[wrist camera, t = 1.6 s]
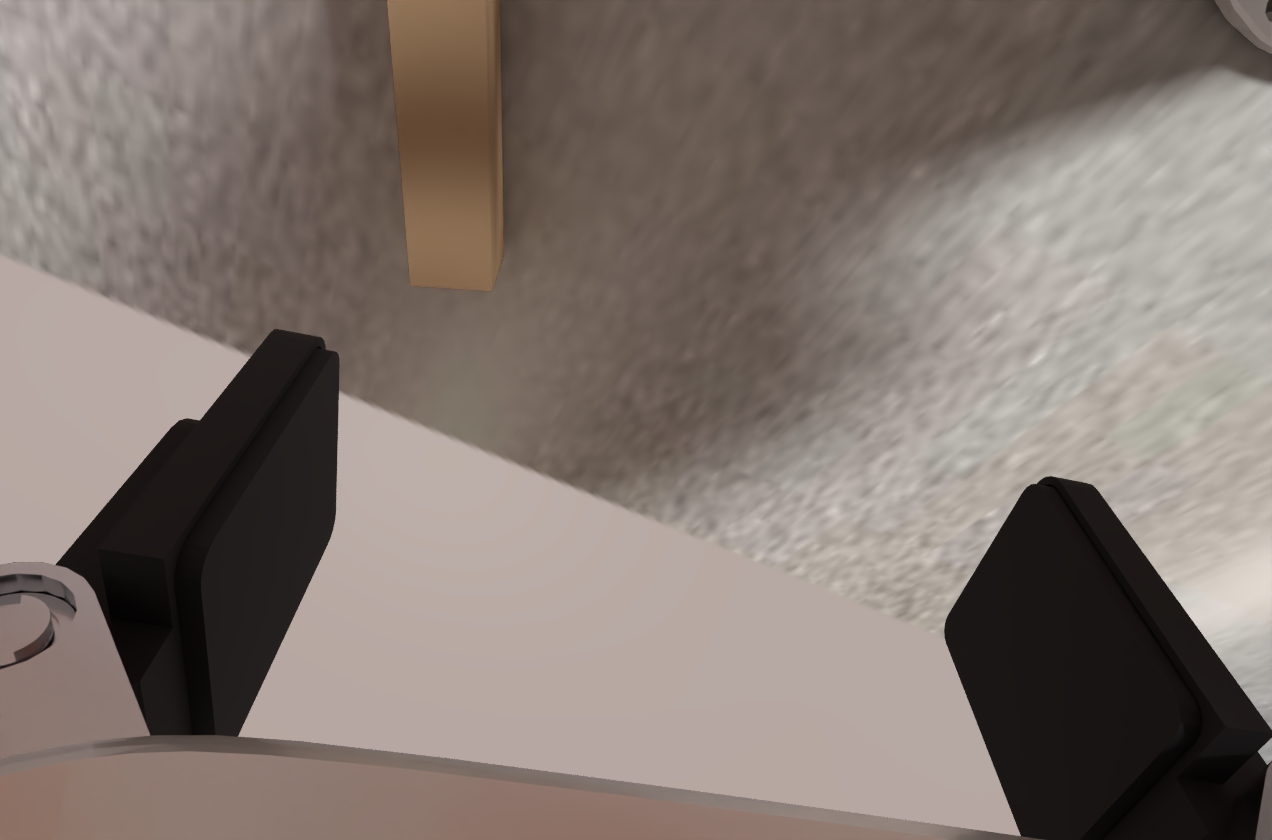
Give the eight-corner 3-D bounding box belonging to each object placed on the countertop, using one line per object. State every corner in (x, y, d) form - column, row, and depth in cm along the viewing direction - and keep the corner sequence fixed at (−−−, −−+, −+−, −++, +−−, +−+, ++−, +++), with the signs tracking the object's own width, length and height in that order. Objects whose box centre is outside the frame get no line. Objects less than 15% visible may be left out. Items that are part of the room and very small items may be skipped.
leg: (367, -313, 18) (333, -338, 16) (519, -299, 18) (504, -322, 16) (411, 249, 25) (391, 284, 22) (520, 257, 25) (510, 292, 23)
